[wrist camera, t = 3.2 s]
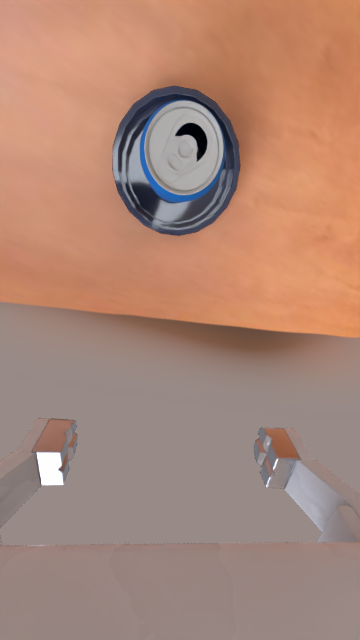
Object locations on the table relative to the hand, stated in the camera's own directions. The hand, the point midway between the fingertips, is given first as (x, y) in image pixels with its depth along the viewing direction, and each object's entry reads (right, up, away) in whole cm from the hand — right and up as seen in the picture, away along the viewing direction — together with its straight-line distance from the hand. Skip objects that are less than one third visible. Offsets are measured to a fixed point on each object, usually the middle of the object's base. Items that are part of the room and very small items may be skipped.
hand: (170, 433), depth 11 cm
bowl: (0, +22, +18) cm, 28 cm away
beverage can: (0, +22, +18) cm, 28 cm away
